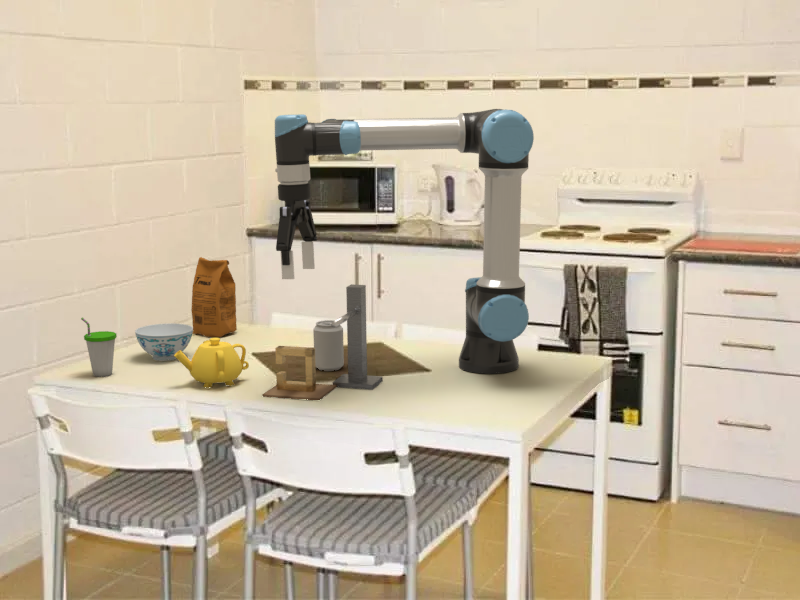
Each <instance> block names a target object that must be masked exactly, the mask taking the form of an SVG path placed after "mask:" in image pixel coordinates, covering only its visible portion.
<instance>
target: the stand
mask: <svg viewBox="0 0 800 600" xmlns="http://www.w3.org/2000/svg"><path fill="white" fill-rule="evenodd" d="M366 286H367V285H366V284H353V283H352V284H350V285H347V286H346V287H345V288H346V313H345V314H343V315H342V316H340V317H339V318H337V319H335V321H334V322H332V324H331V325H332V327H333V328H336V327H337V326H339V325H342V324H344V323H346V331H347V332H346V334H347V338H346V339H347V340H346V341H347V373H343V374H341V375H340V376H339V377H338V378H335V380H334V381H332V385H337V387H336V388H339V389H355V390H369V391H371V390H372V391H373V390H374V389H376V388H377V387H378V386H379V385H380V384H382V382H383V379H384V378H383V375H382V376H379V375H368V353H367V352H368V348H367V346H368V345H367V343H368V339H367V293H366V292H367V291H366V290H367V288H366Z"/></svg>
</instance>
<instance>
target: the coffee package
mask: <svg viewBox="0 0 800 600" xmlns="http://www.w3.org/2000/svg"><path fill="white" fill-rule="evenodd" d="M228 265H230V261H229V260H227V259H219V260H218V259H217V260H216V259H215V260H209V259H206V258H204V257H202V256H200V257H199V258H198V260H197V265H196V269H195V274H194V278H193V283H192V291H191V292H192V294H191V309H190V311H191V318H192V327H193V333H192V335H202V336H204V337H206V338H207V337H209V338H210V337H211V338H221V337H223V336H225V335H227V334H232V333H235V332H236V331H237V330H238V328H237V314H236V313H237V305H236V304H237V297H236V282H235V279H234V277H233V275H232V273H231V271H230V268H229V266H228Z"/></svg>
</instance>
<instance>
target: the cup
mask: <svg viewBox="0 0 800 600" xmlns="http://www.w3.org/2000/svg"><path fill="white" fill-rule="evenodd" d="M80 320H81V321H83V322H84V323H85V324H86V327H87V333H85V334H84V335H83V340H84V341H85V343H86V347H87V352H88V356H89V362H90V367H91V371H92V375H93V377H95V378H106V377H109V376H112V375H113V368H114V354H115V341H116V339H117V333H116V332H114V331H108V330H105V331H104V330H103V331H93V332H91V325H90V322H88V321H87V320H86V319H85V318H84V317H81V318H80Z"/></svg>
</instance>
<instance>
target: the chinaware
mask: <svg viewBox="0 0 800 600" xmlns="http://www.w3.org/2000/svg"><path fill="white" fill-rule="evenodd" d="M134 333H135V337H136V340H137V342H138V345H140V347H141V349H143V351H145V352H146V353H147V354H148V355H150V356H152V359H153V360H154V361H158V362H160V361H161V362H163V361H164V362H166V361H173V360H178V359H177V358H176V357H175V356H174V355H175V354H176V353H177V352H178V351H179V350H181V351H182V352H183V351H184V350H185V349H186V348H187V347H188V346H189V344H190V342H191V339H192V336H193V325H189V324H184V323H175V322H174V323H167V322H165V323H155V324H148V325H144V326H140V327H138V328H136V329H135V330H134Z"/></svg>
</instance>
